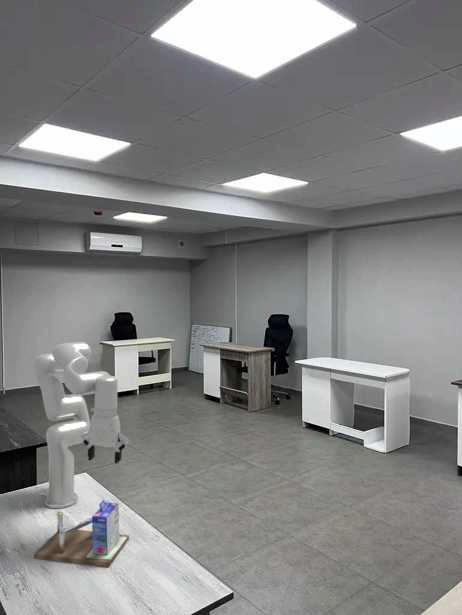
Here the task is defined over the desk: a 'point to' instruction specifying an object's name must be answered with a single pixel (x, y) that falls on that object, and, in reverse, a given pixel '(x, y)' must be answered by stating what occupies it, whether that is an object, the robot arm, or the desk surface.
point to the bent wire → (67, 530)
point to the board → (79, 549)
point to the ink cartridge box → (105, 528)
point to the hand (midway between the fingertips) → (104, 460)
